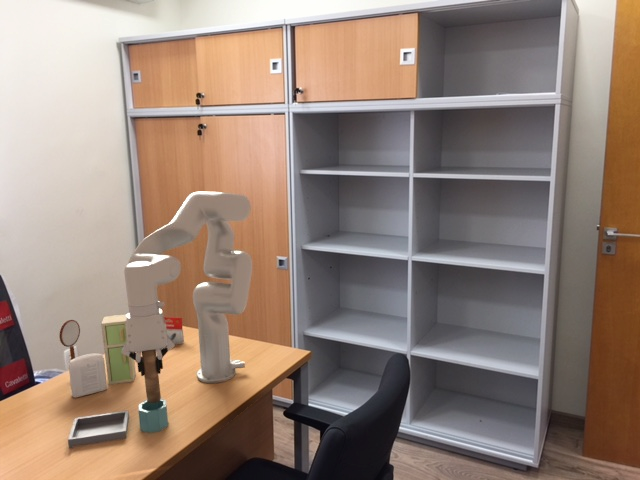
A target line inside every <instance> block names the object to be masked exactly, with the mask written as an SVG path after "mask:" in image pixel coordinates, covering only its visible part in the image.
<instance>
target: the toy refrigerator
mask: <svg viewBox="0 0 640 480" xmlns="http://www.w3.org/2000/svg"><path fill="white" fill-rule="evenodd" d="M127 314H128V313H125V314H119V315H116V314H115V315H107V316H104V317H103V319H102V320H101V333H102V342H103V350H104V357H105V359H104V360H105V366H106V367H105V368H106V373H107V374H106V376H107V382H108V385H118V384H126V383H134V381H135V378H136V372H137V371H136V364H135V363H136V361H135V360H134V359H132V358H131V357H130V356H127V355H124V354H122V353H121V352H122V349H123V347H124V345H125V343H126V341H127V335H126V318H127Z"/></svg>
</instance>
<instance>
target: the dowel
mask: <svg viewBox="0 0 640 480" xmlns="http://www.w3.org/2000/svg"><path fill="white" fill-rule="evenodd" d="M141 357H142V360H143V367H144V375H143V377H144V385H145V392H146V400H147V402H148V403H157V402H159V401H160V400H161V399H162V397H161V385H160V377H159V374H158V372H157V363H156V359H157V353H156V350H149V351H141Z"/></svg>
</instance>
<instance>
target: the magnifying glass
mask: <svg viewBox="0 0 640 480" xmlns="http://www.w3.org/2000/svg"><path fill="white" fill-rule="evenodd" d="M59 330H60V331H59V341H60V343H61V345H63V346H64V347H67V348H69V351H70V353H69V354H70V361H71V360H72V359H74V358H76V356H75V355H76V353H75V347H74V345H75V344H76V343H77V342H78V340H79V338H80V333H81V328H80V324H79V323H78V321H76V320H74V319H69V320H66V321H65V322H64V323H63V324H62V326H61V328H60V329H59Z"/></svg>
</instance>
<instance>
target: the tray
mask: <svg viewBox="0 0 640 480" xmlns="http://www.w3.org/2000/svg"><path fill="white" fill-rule="evenodd" d="M129 412H130V411H129V410H122V411H114V412H108V413H100V414H93V415H87V416H80V417H75V418H74V419H73V423H72V425H71V429H70V432H69V436H68V439H67V443H68V449H69V450H70V449H71V450H72V449H73V448H74V447H80V446H85V445H93V444H99V443H100V444H101V443H104V442H105V443H106V442H111V441H117V440H124V439H125V440H126V439H127V438H128V437H127V435H128V431H129V420H130V413H129Z"/></svg>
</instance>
